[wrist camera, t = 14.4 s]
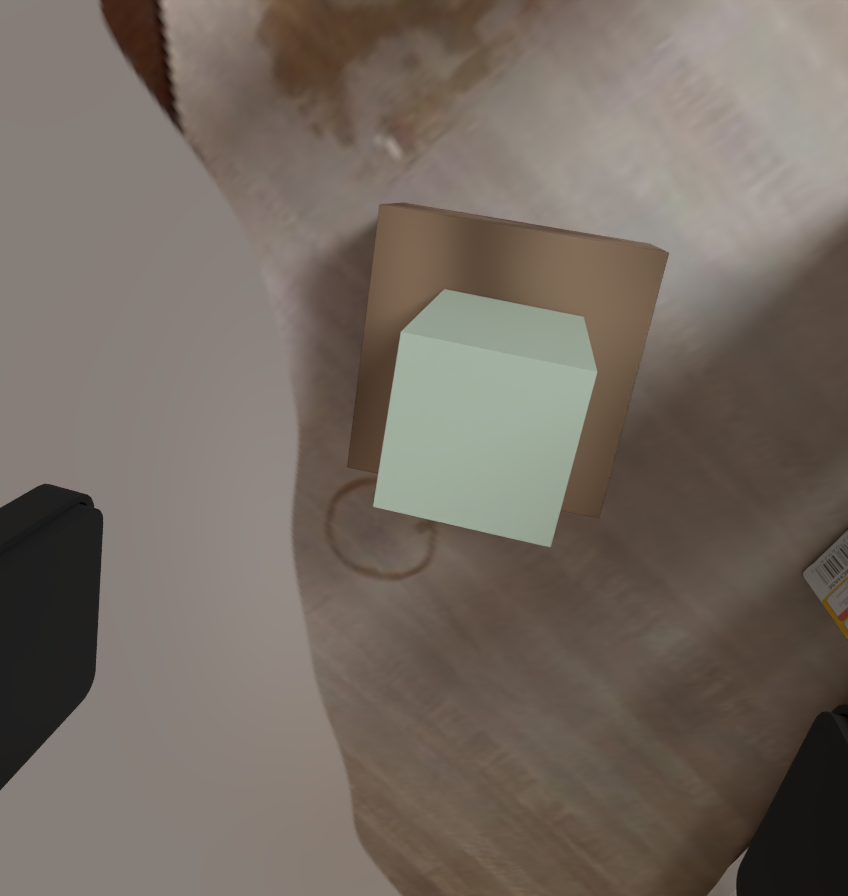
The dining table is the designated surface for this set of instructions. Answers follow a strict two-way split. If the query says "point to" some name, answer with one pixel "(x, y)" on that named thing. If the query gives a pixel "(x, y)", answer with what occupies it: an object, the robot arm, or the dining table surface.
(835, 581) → the crayon box
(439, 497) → the sage block
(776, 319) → the dining table surface
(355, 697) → the dining table surface
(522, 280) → the walnut block
